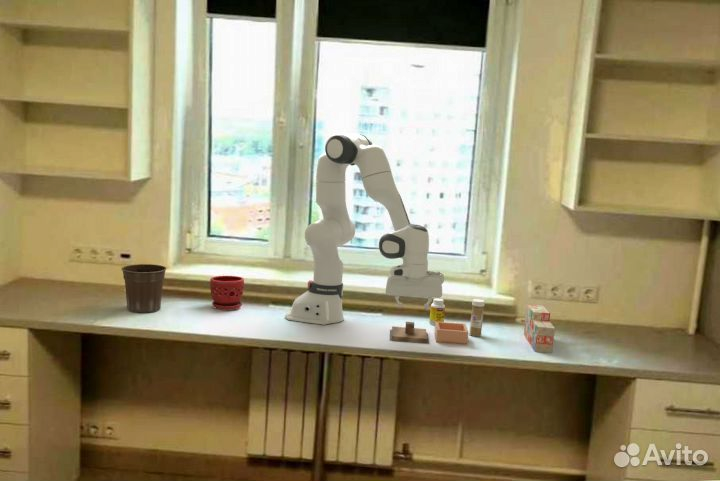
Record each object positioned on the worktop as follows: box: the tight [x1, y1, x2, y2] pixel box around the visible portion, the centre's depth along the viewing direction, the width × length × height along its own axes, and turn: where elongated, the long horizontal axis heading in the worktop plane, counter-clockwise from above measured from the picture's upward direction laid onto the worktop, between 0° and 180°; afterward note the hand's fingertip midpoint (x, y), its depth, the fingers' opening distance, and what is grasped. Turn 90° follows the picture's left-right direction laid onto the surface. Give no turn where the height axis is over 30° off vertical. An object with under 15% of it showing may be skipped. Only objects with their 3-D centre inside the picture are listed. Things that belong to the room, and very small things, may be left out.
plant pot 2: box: [209, 275, 245, 311], centre depth 278 cm, size 13×13×12 cm
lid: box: [391, 321, 428, 344], centre depth 254 cm, size 12×12×5 cm
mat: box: [389, 329, 430, 345], centre depth 255 cm, size 14×14×1 cm
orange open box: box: [434, 321, 469, 346], centre depth 255 cm, size 11×11×5 cm
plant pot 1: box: [121, 263, 167, 314], centre depth 267 cm, size 16×16×16 cm
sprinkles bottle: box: [468, 298, 486, 338], centre depth 263 cm, size 5×5×14 cm
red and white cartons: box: [523, 303, 556, 354], centre depth 257 cm, size 21×6×12 cm, turn 178°
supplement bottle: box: [428, 298, 446, 327], centre depth 273 cm, size 6×6×10 cm
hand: (412, 308), depth 253 cm, fingers open, 8 cm apart
